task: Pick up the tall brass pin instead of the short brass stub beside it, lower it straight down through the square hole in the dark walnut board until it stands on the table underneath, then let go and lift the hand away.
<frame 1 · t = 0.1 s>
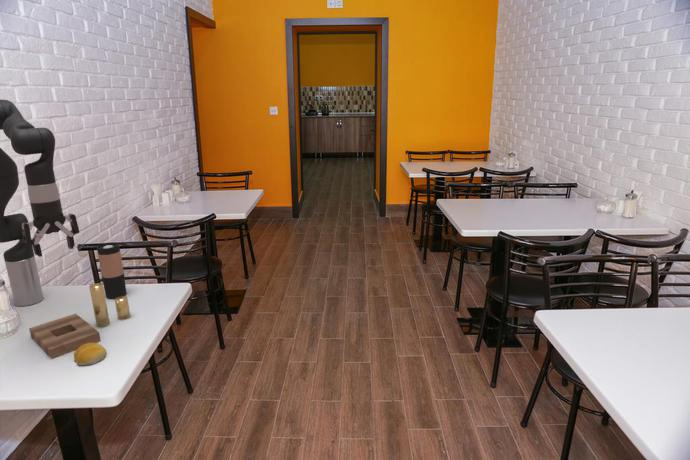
hand: (55, 252, 146), 29 cm above the table, tool pointing down, fingers open, 8 cm apart
tall pin: (103, 324, 165), on the table
travel mug: (116, 295, 188), on the table
short pin: (124, 317, 169), on the table
hole board: (65, 338, 156), on the table
bread roll: (90, 358, 144), on the table
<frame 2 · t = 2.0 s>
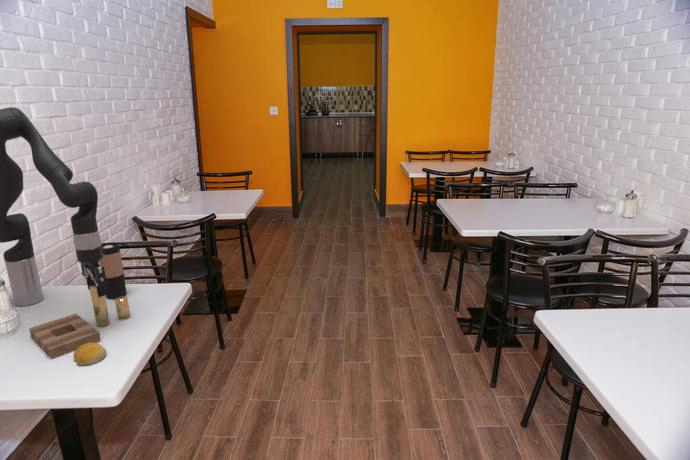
hand: (97, 292, 161), 12 cm above the table, tool pointing down, fingers open, 8 cm apart
nothing on the table moved.
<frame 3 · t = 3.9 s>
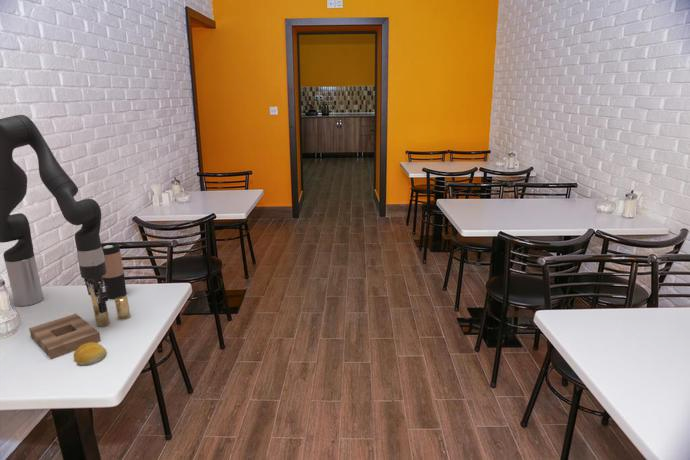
hand: (100, 310, 163), 5 cm above the table, tool pointing down, fingers closed on tall pin, 4 cm apart
tall pin: (103, 324, 164), on the table, touching gripper
everything else where it was.
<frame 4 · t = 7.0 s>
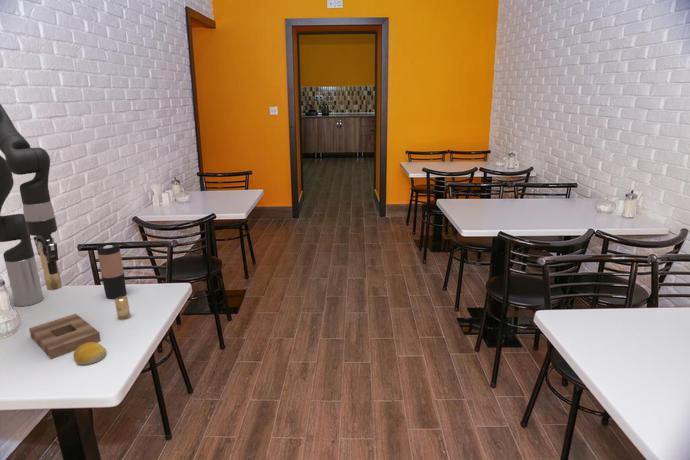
hand: (51, 271, 149), 23 cm above the table, tool pointing down, fingers closed on tall pin, 4 cm apart
tall pin: (54, 287, 151), point 17 cm above the table, touching gripper
everything else where it was.
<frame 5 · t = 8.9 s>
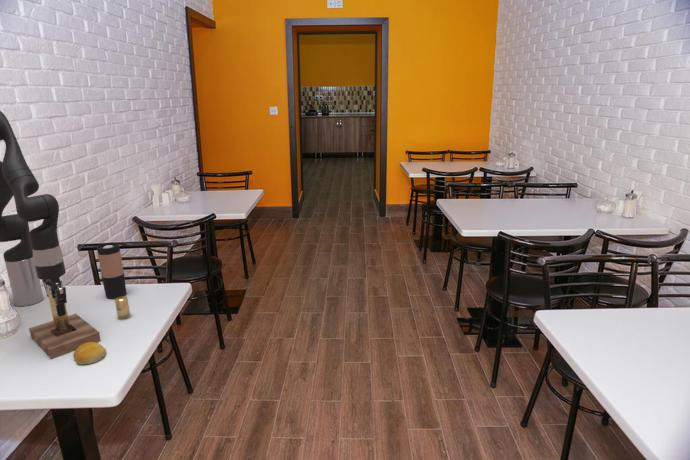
hand: (59, 312, 153), 9 cm above the table, tool pointing down, fingers closed on tall pin, 4 cm apart
tall pin: (62, 328, 154), point 4 cm above the table, touching gripper
everything else where it was.
when the fingers open (6 cm above the table, at t = 10.3 s): tall pin stays where it is, resting in hole board.
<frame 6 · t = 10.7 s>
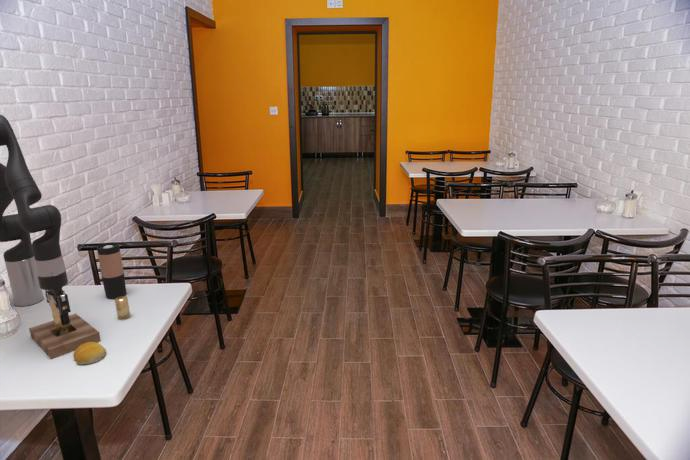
hand: (61, 320, 154), 6 cm above the table, tool pointing down, fingers open, 7 cm apart
tall pin: (65, 338, 156), resting in hole board
everything else where it was.
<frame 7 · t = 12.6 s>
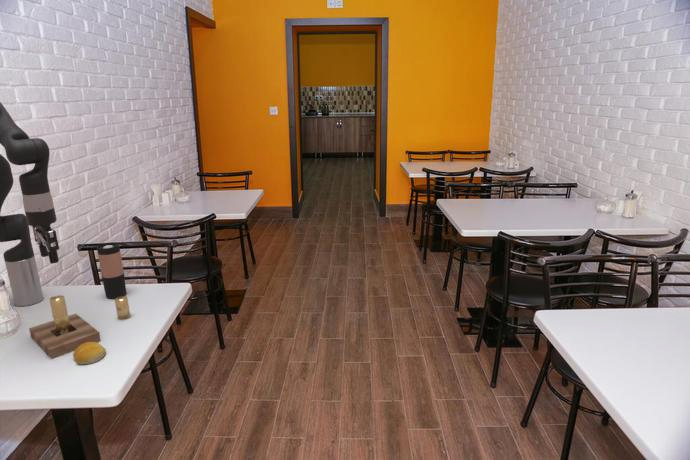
hand: (50, 259, 150), 26 cm above the table, tool pointing down, fingers open, 8 cm apart
nothing on the table moved.
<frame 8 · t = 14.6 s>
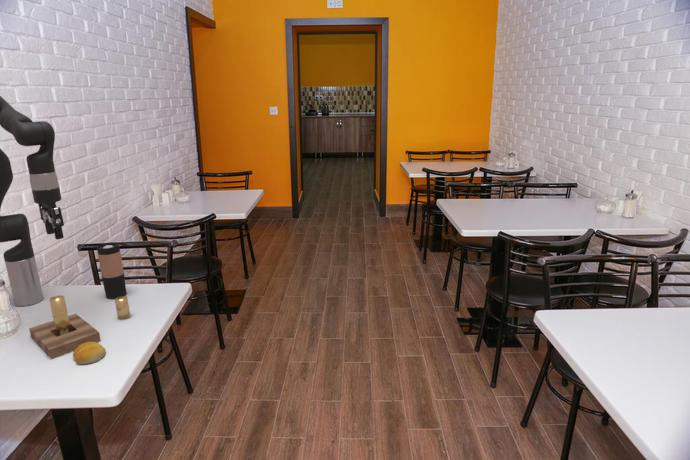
hand: (55, 236, 159), 30 cm above the table, tool pointing down, fingers open, 8 cm apart
nothing on the table moved.
at the end: tall pin 0.1 cm off-centre on the hole board, point 0.0 cm above the hole board's base; tall pin tilted 0°; short pin moved 0.0 cm from its start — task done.
